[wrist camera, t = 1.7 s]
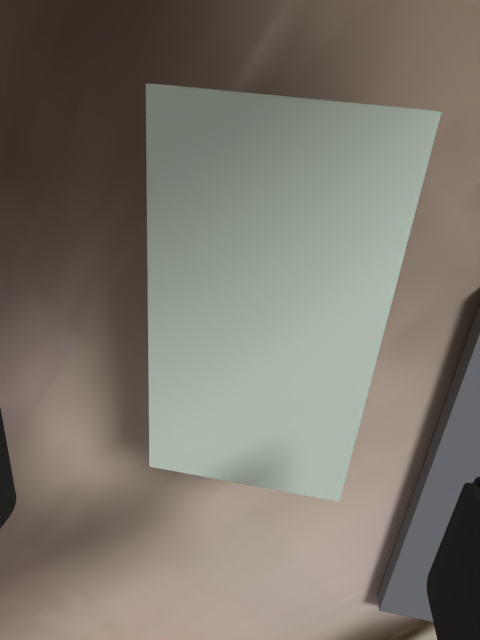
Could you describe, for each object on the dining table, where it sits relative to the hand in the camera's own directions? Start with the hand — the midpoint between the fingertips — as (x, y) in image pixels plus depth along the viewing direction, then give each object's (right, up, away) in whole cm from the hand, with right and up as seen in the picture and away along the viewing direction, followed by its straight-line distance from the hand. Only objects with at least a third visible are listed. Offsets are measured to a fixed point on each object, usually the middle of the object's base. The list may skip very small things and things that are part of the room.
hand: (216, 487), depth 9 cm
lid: (+2, +4, +7) cm, 8 cm away
